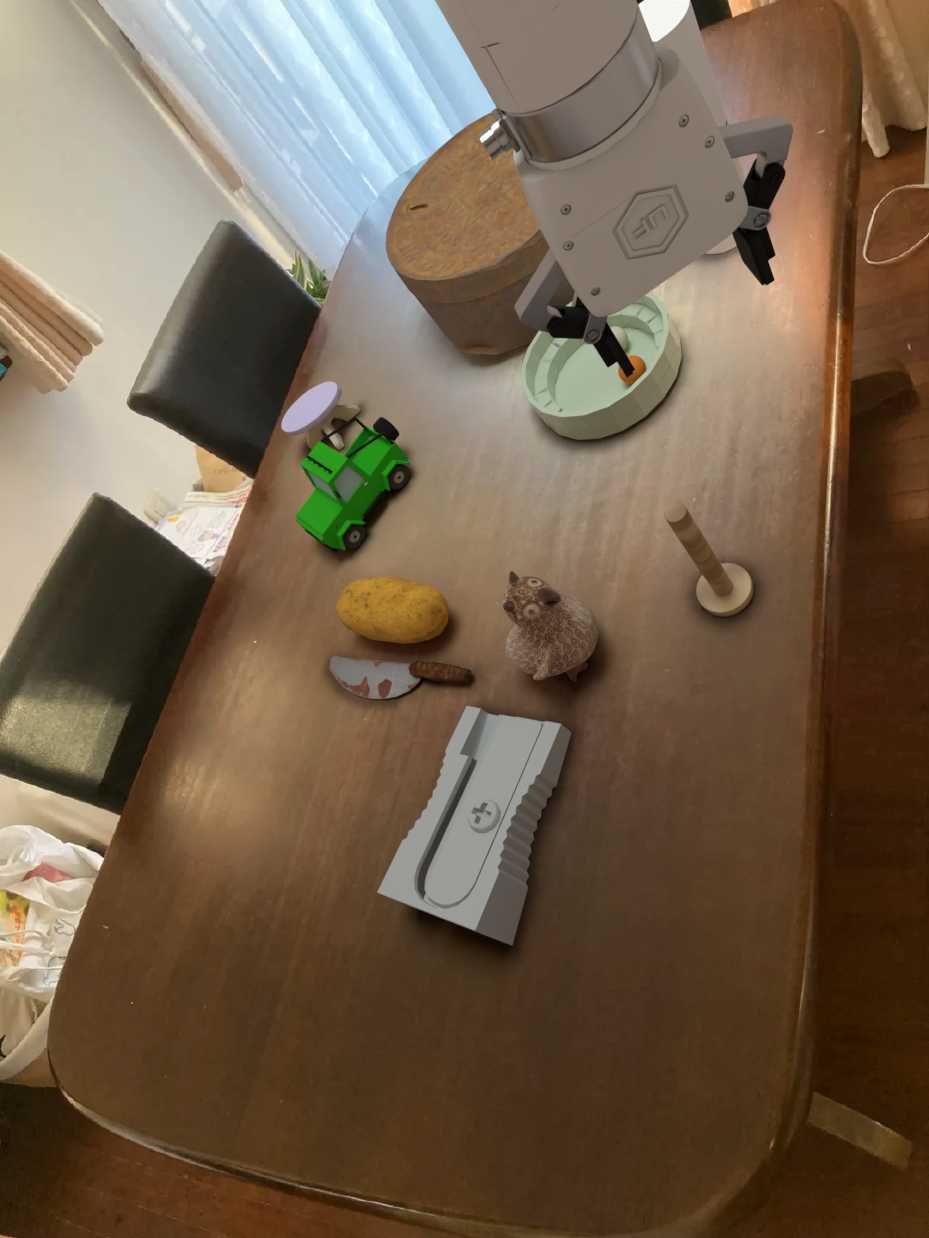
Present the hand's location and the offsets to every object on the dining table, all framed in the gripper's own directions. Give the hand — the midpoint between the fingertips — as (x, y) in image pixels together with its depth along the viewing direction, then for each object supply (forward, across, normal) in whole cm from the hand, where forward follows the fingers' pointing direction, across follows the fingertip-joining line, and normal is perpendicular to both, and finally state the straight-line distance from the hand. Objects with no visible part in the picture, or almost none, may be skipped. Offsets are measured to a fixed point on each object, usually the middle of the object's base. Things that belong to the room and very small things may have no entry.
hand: (689, 318), depth 53 cm
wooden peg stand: (+29, -8, -3) cm, 30 cm away
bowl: (+29, -7, +29) cm, 42 cm away
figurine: (+29, -24, -1) cm, 37 cm away
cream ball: (+27, -5, +31) cm, 42 cm away
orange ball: (+27, -5, +26) cm, 38 cm away
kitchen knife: (+29, -44, +7) cm, 53 cm away
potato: (+29, -39, +13) cm, 50 cm away
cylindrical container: (+30, +12, +39) cm, 50 cm away
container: (+29, -9, +53) cm, 61 cm away
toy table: (+29, -43, +50) cm, 72 cm away
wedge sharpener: (+29, -36, -13) cm, 48 cm away
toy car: (+29, -40, +34) cm, 60 cm away
